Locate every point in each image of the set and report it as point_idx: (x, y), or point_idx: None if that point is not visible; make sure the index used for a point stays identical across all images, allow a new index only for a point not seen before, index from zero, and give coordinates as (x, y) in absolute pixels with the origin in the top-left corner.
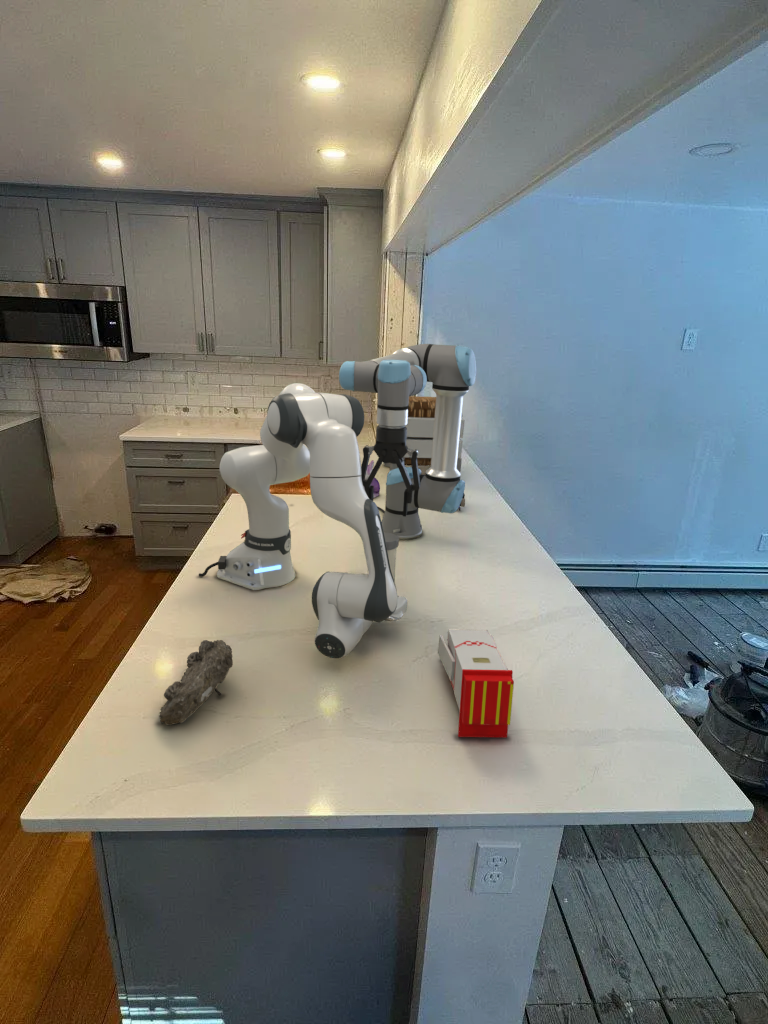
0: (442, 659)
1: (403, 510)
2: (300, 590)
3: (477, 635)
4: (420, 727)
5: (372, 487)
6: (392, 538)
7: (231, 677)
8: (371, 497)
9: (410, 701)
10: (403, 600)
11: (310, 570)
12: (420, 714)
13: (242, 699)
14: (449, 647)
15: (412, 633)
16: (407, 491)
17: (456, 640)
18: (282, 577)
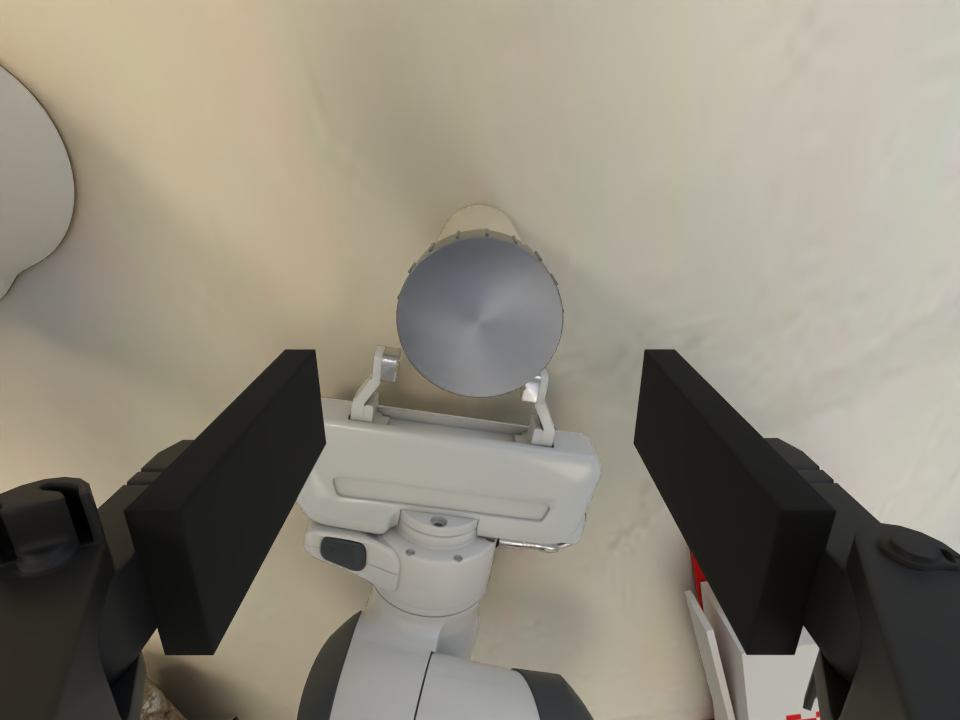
0: (698, 638)
1: (654, 474)
2: (150, 252)
3: None
4: (631, 713)
5: (196, 598)
6: (523, 331)
7: (222, 669)
8: (268, 547)
9: (609, 662)
10: (588, 487)
11: (87, 44)
12: (631, 687)
13: (282, 712)
14: (727, 653)
15: (602, 432)
16: (808, 704)
17: (760, 716)
18: (34, 232)
